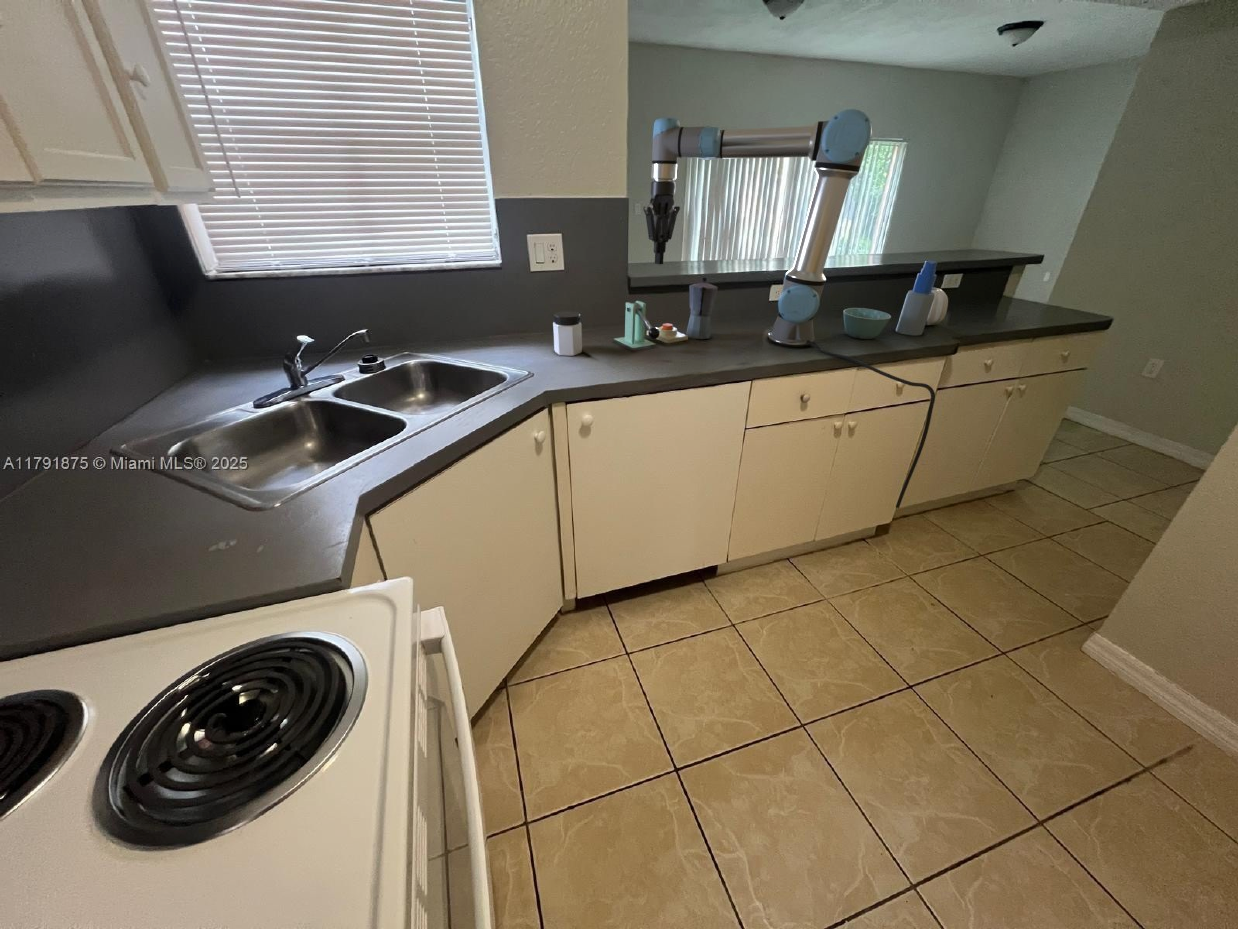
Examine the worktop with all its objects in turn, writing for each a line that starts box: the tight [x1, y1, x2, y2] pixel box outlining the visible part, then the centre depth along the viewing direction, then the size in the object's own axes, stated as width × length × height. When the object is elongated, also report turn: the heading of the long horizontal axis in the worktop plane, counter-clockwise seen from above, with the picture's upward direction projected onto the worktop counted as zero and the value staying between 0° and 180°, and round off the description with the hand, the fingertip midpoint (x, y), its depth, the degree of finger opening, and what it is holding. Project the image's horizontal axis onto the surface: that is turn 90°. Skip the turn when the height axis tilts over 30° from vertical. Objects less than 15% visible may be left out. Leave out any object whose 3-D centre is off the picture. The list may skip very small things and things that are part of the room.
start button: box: [661, 322, 674, 330], centre depth 167 cm, size 4×4×2 cm
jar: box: [552, 310, 583, 357], centre depth 153 cm, size 9×8×12 cm
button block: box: [646, 326, 689, 344], centre depth 168 cm, size 12×9×4 cm
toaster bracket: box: [614, 300, 656, 349], centre depth 160 cm, size 12×9×14 cm
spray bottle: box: [895, 260, 938, 336], centre depth 177 cm, size 9×9×25 cm
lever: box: [631, 302, 660, 340], centre depth 155 cm, size 15×4×4 cm
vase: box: [925, 287, 949, 326], centre depth 192 cm, size 14×14×13 cm
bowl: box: [843, 307, 892, 340], centre depth 176 cm, size 16×16×8 cm
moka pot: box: [685, 277, 718, 340], centre depth 168 cm, size 10×15×20 cm, turn 174°
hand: (658, 263), depth 160 cm, fingers closed
